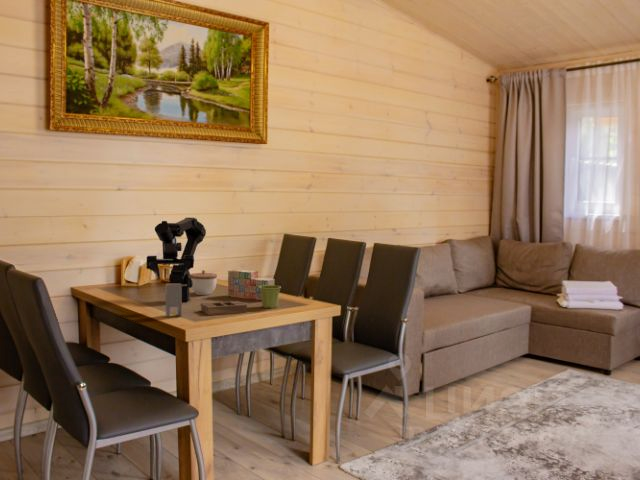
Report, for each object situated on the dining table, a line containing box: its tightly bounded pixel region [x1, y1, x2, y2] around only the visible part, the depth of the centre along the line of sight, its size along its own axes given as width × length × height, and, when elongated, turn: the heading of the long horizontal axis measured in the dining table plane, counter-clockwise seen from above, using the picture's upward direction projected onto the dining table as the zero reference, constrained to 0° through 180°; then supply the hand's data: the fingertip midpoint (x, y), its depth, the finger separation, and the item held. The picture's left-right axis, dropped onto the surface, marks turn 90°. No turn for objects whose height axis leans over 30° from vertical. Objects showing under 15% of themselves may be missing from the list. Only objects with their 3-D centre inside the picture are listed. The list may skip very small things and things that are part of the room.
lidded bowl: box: [190, 269, 218, 296], centre depth 301 cm, size 13×13×11 cm
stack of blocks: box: [227, 269, 275, 301], centre depth 294 cm, size 21×6×12 cm, turn 63°
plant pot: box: [259, 284, 282, 309], centre depth 272 cm, size 9×9×9 cm
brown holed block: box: [200, 300, 248, 316], centre depth 260 cm, size 10×16×3 cm, turn 117°
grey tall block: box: [165, 283, 183, 318], centre depth 249 cm, size 4×6×12 cm
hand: (171, 278), depth 256 cm, fingers open, 9 cm apart
